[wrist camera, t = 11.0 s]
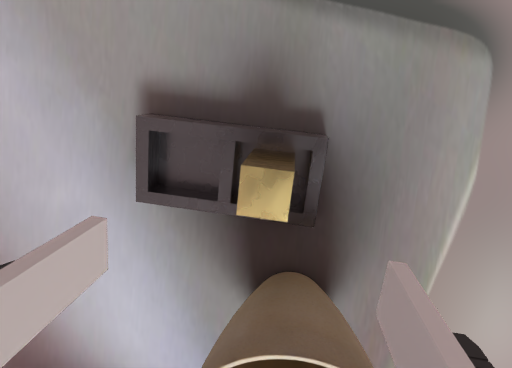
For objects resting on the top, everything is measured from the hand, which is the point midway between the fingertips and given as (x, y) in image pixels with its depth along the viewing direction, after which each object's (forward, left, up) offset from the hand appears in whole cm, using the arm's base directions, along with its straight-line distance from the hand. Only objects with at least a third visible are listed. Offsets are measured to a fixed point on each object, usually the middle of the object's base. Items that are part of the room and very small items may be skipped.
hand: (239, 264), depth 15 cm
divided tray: (0, +4, -19) cm, 19 cm away
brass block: (0, 0, -18) cm, 18 cm away
